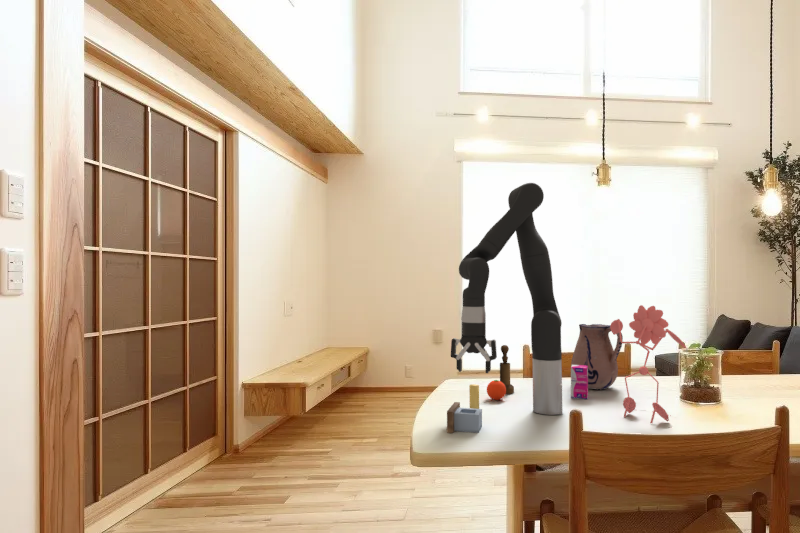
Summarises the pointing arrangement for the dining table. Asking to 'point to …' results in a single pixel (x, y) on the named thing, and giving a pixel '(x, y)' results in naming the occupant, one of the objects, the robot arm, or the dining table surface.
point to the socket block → (468, 420)
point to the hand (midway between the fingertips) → (473, 372)
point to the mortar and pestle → (505, 371)
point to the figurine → (646, 329)
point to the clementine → (496, 390)
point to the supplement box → (579, 381)
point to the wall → (451, 417)
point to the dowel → (474, 396)
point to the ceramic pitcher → (597, 355)
